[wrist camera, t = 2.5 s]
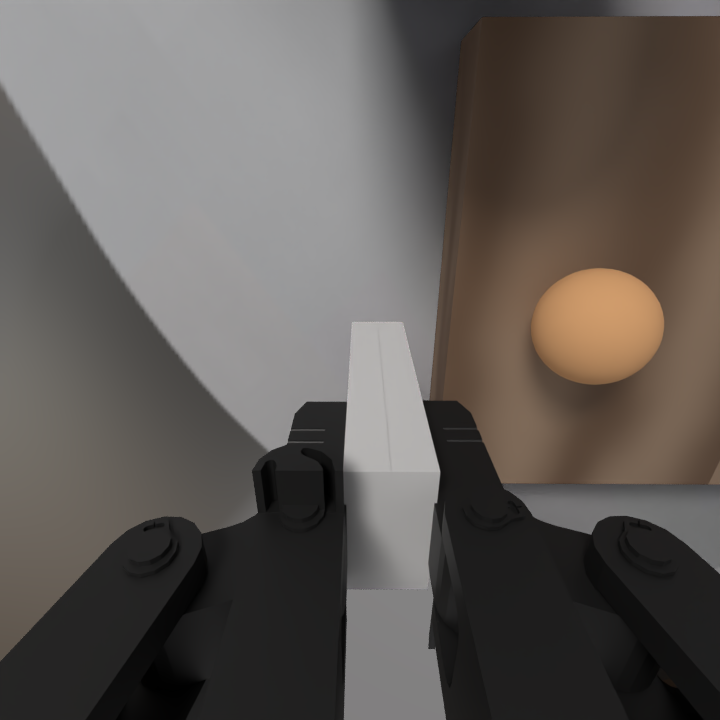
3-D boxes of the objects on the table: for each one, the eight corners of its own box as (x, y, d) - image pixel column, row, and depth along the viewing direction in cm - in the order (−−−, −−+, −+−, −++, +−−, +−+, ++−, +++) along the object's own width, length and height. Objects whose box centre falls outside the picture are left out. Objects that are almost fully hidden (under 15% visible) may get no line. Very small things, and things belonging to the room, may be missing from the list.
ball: (525, 255, 15) (574, 287, 12) (634, 256, 15) (716, 288, 12) (508, 353, 17) (546, 407, 14) (605, 354, 17) (669, 407, 14)
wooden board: (425, 444, 23) (433, 483, 20) (461, 41, 15) (482, 16, 12) (845, 446, 23) (909, 485, 20) (1108, 40, 15) (1274, 15, 12)
